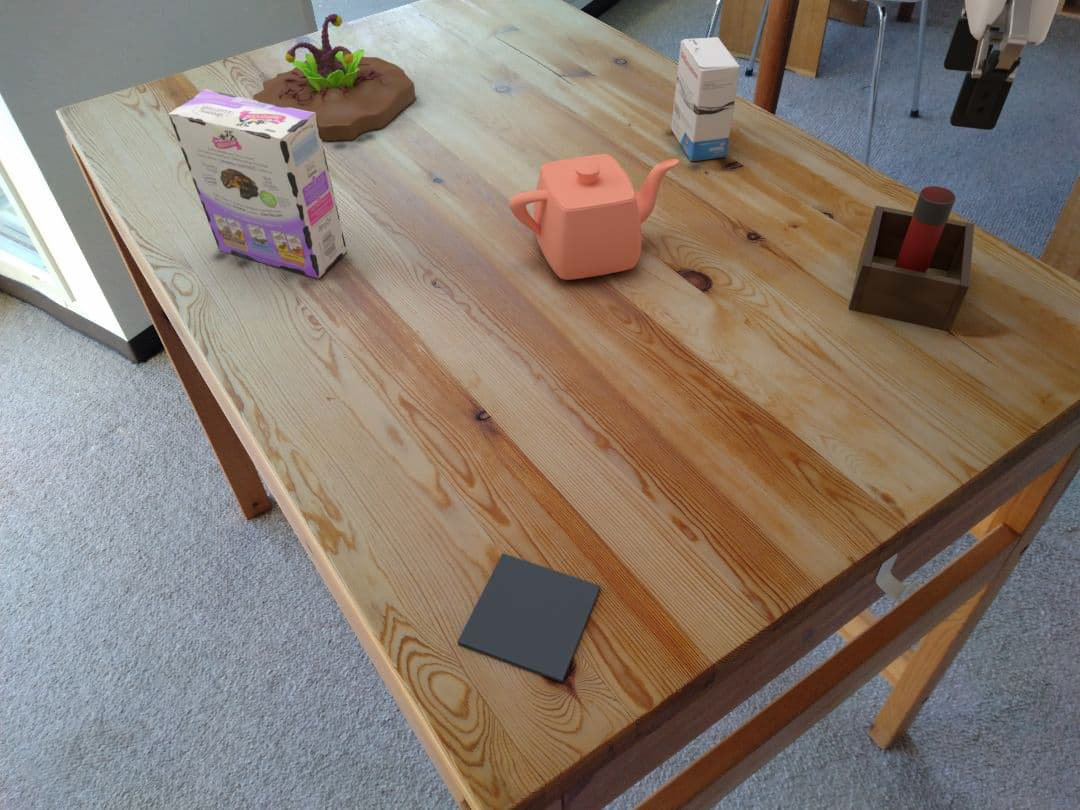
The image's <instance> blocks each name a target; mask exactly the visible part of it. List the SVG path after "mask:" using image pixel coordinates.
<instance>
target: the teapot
mask: <svg viewBox="0 0 1080 810" xmlns="http://www.w3.org/2000/svg"><path fill="white" fill-rule="evenodd" d="M679 163H680V160H679V159H677V158H671V159H667V160H664V161H661V162H659V163H657V164H656V165H655V166H654V167H653V168H651V171H650V172H649V173H648V176H647V177H646V179H645V182H644V183H643V185H642V187H641V188H640V189H639V190H638V192H635V189H634V186H633V184H632V182H631V180H630V178H629V176H628V174H627V173H626V172H625V170H624V169H623V167H622V166H621V165H620V164H619V163H618V161H617V160H616V159H615V158H614V157H612V156H611V155H610V154H608V153H604V154H603V153H602V154H592V155H585V156H577V157H572V158H566V159H560V160H553V161H549V162H545V163H544V164H542V166H541V168H540V171H539V176H538V180H537V184H536V189H535V190H528V191H522V192H519V193H517V194H514V195H513V196H512V197H511V198H510V200H509V209H510V211H511V213H512V214H513V216H514V217H515V218H516V219H517V220H518V221H519V222H520V223H521V224H522V225H524V226H525V227H526V228H527V229H529V230H530V231H532V232H533V233H534V234H535V237H536V240H537V243H538V245H539V248H540V250H541V252H542V255H543V256H544V258H545V260H546V262H547V263H548V265H549V267H550V268H551V270H552V271H553V272H554V273H555V275H557V277H559V278H560V279H562V280H565V281H567V280H569V281H571V280H579V279H585V278H593V277H599V276H604V275H611V274H613V273H618V272H619V273H620V272H624V271H628V270H631V269H634V268H635V267H636V266H637V263H638V262H639V259H640V258H641V255H642V243H643V241H642V240H643V236H642V234H643V233H642V224H643V223H645V221H646V220H648V218H649V217H650V216H651V214H652V212H653V211H654V208H655V206H656V203H657V198H658V193H659V190H660V187H661V183H662V181H663V179H664V177H665V176H666V174H667V173H668V172H669V171H671V169H672V168H674V167H675V166H677V165H678V164H679ZM532 203H533V217H532V215H531V214H530V212H529V211H528V209H527V205H530V204H532Z"/></svg>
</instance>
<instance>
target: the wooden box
mask: <svg viewBox="0 0 1080 810" xmlns="http://www.w3.org/2000/svg"><path fill="white" fill-rule="evenodd" d="M913 212H914V211H908V210H903V209H897V208H893V207H887V206H882V205H875V207H874V209H873V213H872V217H871V220H870V223H869V225H868V229H867V233H866V235H865V239H864V242H863V245H862V249H861V253H860V258H859V261H858V265H857V270H856V274H855V279H854V283H853V287H852V291H851V296H850V300H849V305H848V310H852V311H856V312H860V313H865V314H869V315H872V316H873V315H874V316H878V317H882V318H888V319H890V320H891V319H892V320H897V321H901V322H906V323H910V324H914V325H918V326H923V327H927V328H931V329H932V328H933V329H937V330H942V331H948V332H950V331H951V330H952V328H953V325H954V322H955V321H956V318H957V316H958V314H959V311H960V310H961V307H962V305H963V303H964V301H965V298H966V295H967V293H968V290H969V289H970V281H971V271H972V270H971V269H972V259H973V258H972V257H973V247H974V235H975V223H971V222H967V221H962V220H957V219H951V218H948V220H947V222H946V223H945V226H944V228H943V231H942V234H941V236H940V239H939V241H938V244H937V246H936V249H935V252H934V254H933V257H932V259H931V262H930V264H929V267H930V268H935V269H940V270H946V271H947V274H946V275H947V276H942V275H937V274H932V273H927V272H926V273H923V272H918V271H913V270H908V269H903V268H898V267H895V265H888V264H883V263H878V262H873V261H874V260H873V258H874V256H876V257H881V258H886V259H891V260H896V261H897V259H898V256H899V253H900V251H901V248H902V245H903V242H904V239H905V236H906V234H907V231H908V228H909V225H910V222H911V219H912V217H913Z"/></svg>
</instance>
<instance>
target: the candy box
mask: <svg viewBox="0 0 1080 810" xmlns="http://www.w3.org/2000/svg"><path fill="white" fill-rule="evenodd" d="M168 118H169V119H170V124H171V126H172V128H173V131H174V133H175V137H176V138H177V142H178V144H179V147H180V149H181V151H182V154H183V157H184V161H185V162H186V165H187V168H188V171H189V173H190V176H191V179H192V182H193V185H194V187H195V189H196V192H197V195H198V198H199V200H200V203H201V205H202V208H203V210H204V213H205V216H206V218H207V222H208V224H209V227H210V230H211V232H212V235H213V237H214V238H213V239H214V241H215V244H216V247H217V249H218V250H219V251H221V252H223V253H227V254H230V255H234V256H239V257H241V258H244V259H247V260H251V261H256V262H259V263H262V264H265V265H269V266H273V267H277V268H280V269H283V270H287V271H289V272H290V271H291V272H295V273H298V274H301V275H304V276H307V277H312V278H315V279H320V278H321V277H322V276H323V275H324V274H325V273H326V272H327V271H328V270H329V269H330V268H331V267H332V266H334V264H335V263H337V262H338V261H339V260H340V259H341V258H342V257H343V256H344V255H345V254H346V253H347V251H348V249H347V244H346V241H345V237H344V236H345V235H344V232H343V226H342V223H341V219H340V215H339V210H338V205H337V201H336V197H335V192H334V188H333V184H332V179H331V174H330V170H329V165H328V162H327V156H326V152H325V148H324V144H323V140H322V139H321V135H320V131H319V126H318V122H317V117H316V113H315V112H309V111H304V110H299V109H294V108H289V107H284V106H280V105H275V104H270V103H266V102H261V101H256V100H253V98H248V97H247V98H246V97H241V96H238V95H232V94H228V93H223V92H220V91H215V90H211V89H207V88H204V89H203V90H202V91H200V92H199V93H197V94H195V95H194V96H193V97H191V98H190V99H187V101H185V102H184V103H182V104H180V105H179V106H178V107H176V108H174V109H173V110H171V111H170V112H168Z"/></svg>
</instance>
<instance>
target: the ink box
mask: <svg viewBox="0 0 1080 810" xmlns="http://www.w3.org/2000/svg"><path fill="white" fill-rule="evenodd" d="M740 70H741V65H740V64H739V63H738V62H737V60H736V59H735V58H734V57H733V55H732V54H731V53H730V51H729V50H728V49H727V47H726V46H725V45H724V43H723V42H722V40H721V39H720V37H719V36H716V37H715V36H714V37H698V38H697V37H696V38H684V39H682V40H680V45H679V55H678V65H677V74H676V82H675V83H676V84H675V93H674V101H673V109H672V118H671V119H672V120H671V128H670V129H671V131H672V133H673V135H674V137H675V138H676V140H677V142H678V143H679V145H680V146H681V149H683V152H684V153H685V155H686V156H687V158H688V159H689V161H690V162H696V161H705V160H713V159H720V158H726V157H727V155H728V148H729V142H730V135H731V128H732V122H733V114H734V109H735V101H736V96H737V90H738V89H737V88H738V84H739V77H740Z"/></svg>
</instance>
